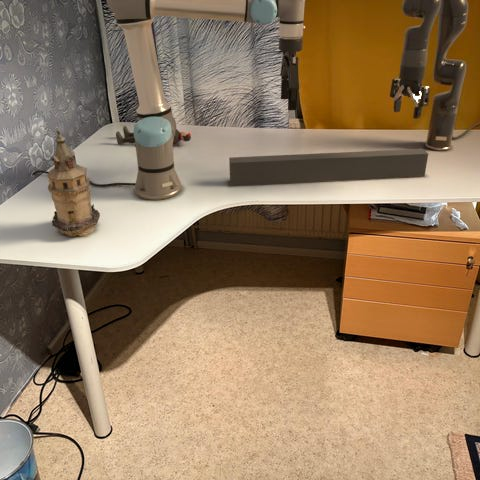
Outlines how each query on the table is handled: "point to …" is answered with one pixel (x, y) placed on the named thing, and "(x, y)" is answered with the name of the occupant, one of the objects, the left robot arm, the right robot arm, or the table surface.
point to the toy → (130, 138)
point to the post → (327, 167)
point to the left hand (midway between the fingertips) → (288, 104)
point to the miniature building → (70, 193)
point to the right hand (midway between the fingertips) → (406, 114)
